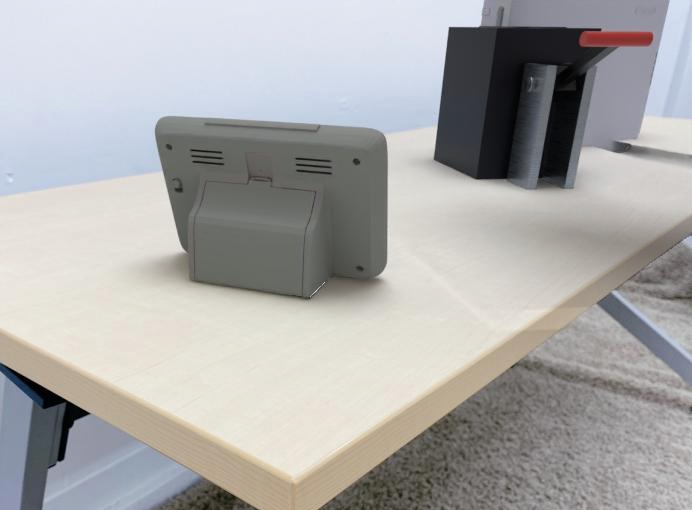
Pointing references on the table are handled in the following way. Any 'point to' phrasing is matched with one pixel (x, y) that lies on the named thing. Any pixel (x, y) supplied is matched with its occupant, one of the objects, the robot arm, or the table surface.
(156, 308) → the table surface
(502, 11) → the game console
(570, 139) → the lever bracket
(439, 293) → the table surface
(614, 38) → the toaster lever
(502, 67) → the toaster
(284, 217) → the digital clock
